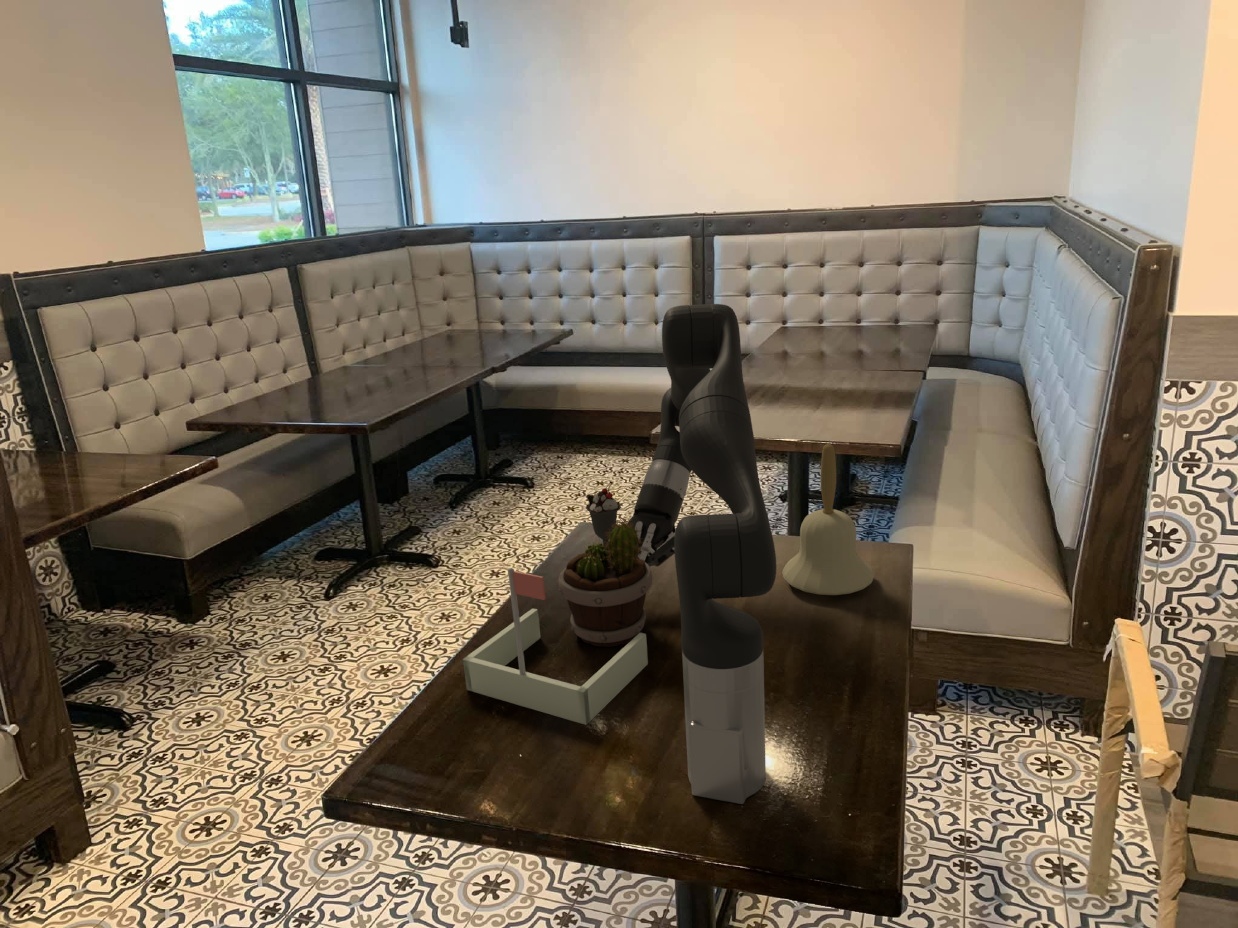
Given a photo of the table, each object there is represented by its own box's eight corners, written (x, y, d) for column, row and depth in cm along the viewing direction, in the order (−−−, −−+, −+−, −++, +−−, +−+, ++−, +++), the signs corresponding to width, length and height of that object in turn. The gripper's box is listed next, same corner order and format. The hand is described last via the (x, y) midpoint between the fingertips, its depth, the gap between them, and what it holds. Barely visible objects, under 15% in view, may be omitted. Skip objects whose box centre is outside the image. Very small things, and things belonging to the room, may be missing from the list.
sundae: (629, 557, 170) (624, 483, 166) (596, 565, 168) (590, 489, 164) (617, 545, 176) (611, 473, 172) (584, 552, 174) (578, 479, 169)
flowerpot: (551, 653, 138) (539, 533, 132) (579, 607, 152) (569, 497, 146) (644, 659, 134) (635, 536, 128) (663, 612, 149) (657, 498, 142)
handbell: (767, 592, 153) (765, 452, 145) (802, 558, 165) (802, 427, 157) (856, 610, 145) (858, 463, 137) (886, 574, 156) (889, 436, 149)
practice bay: (535, 636, 143) (522, 515, 137) (647, 663, 133) (639, 534, 127) (466, 689, 130) (448, 557, 123) (586, 724, 119) (573, 582, 113)
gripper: (620, 478, 154) (588, 571, 148) (690, 486, 148) (658, 584, 142) (637, 497, 160) (607, 587, 154) (705, 506, 154) (675, 600, 147)
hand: (631, 585), depth 148 cm, fingers closed
